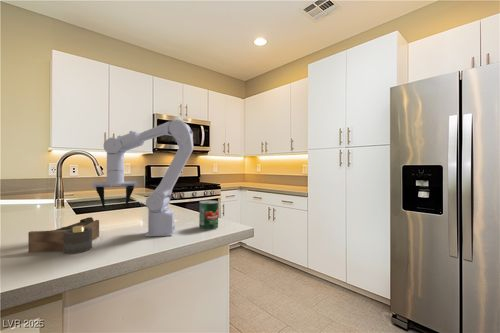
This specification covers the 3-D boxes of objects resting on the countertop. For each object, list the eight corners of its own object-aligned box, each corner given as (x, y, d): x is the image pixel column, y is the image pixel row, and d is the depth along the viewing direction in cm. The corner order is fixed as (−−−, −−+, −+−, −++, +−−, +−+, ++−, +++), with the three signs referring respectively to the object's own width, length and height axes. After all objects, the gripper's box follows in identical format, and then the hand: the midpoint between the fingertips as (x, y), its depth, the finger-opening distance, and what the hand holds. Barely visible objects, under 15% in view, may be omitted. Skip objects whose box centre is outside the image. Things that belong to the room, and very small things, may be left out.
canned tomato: (205, 224, 106) (205, 199, 106) (221, 226, 103) (221, 200, 103) (195, 229, 99) (195, 202, 98) (212, 231, 96) (212, 203, 96)
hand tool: (56, 242, 81) (56, 228, 81) (46, 241, 82) (46, 228, 82) (99, 227, 100) (99, 216, 100) (91, 227, 101) (91, 216, 101)
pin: (85, 247, 76) (86, 225, 76) (81, 250, 73) (81, 227, 73) (75, 247, 76) (75, 225, 76) (70, 251, 73) (70, 228, 73)
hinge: (108, 236, 88) (108, 219, 88) (84, 253, 71) (84, 233, 71) (57, 237, 85) (57, 221, 85) (20, 256, 69) (20, 235, 69)
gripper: (135, 170, 98) (135, 203, 98) (92, 170, 90) (92, 206, 90) (137, 170, 92) (137, 205, 92) (92, 170, 84) (92, 209, 84)
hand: (115, 206), depth 91 cm, fingers open, 7 cm apart
